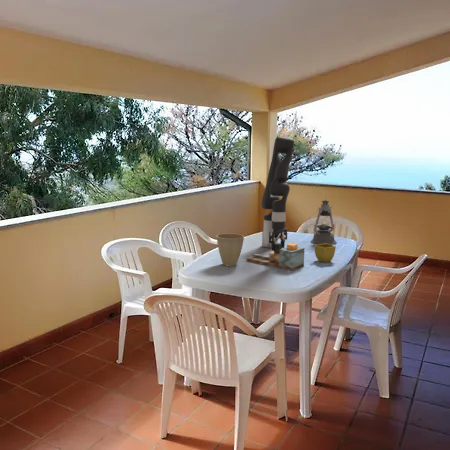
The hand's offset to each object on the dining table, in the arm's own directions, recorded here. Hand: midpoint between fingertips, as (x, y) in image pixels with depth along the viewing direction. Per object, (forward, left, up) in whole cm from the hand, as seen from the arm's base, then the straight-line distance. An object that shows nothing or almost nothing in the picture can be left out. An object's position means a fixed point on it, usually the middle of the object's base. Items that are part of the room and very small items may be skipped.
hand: (278, 249), depth 252 cm
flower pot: (+16, +23, -9) cm, 29 cm away
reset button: (+9, 0, +1) cm, 9 cm away
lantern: (-10, +67, -9) cm, 68 cm away
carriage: (0, 0, -7) cm, 7 cm away
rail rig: (-2, 0, -8) cm, 9 cm away
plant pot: (-19, -18, -9) cm, 28 cm away
